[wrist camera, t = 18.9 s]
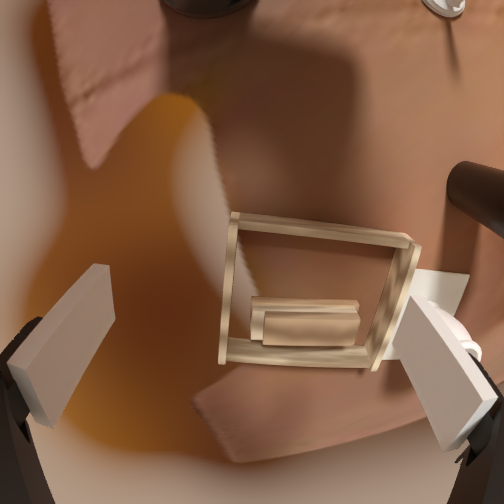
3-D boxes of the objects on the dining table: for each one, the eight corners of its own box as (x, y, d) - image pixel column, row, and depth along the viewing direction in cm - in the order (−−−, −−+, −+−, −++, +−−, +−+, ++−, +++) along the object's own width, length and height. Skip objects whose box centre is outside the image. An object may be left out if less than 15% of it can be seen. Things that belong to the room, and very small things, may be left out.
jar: (424, 285, 52) (465, 334, 38) (452, 309, 54) (490, 356, 40) (386, 328, 55) (415, 384, 41) (417, 348, 57) (446, 399, 43)
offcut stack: (251, 295, 53) (251, 316, 48) (356, 299, 54) (366, 318, 48) (249, 325, 56) (249, 347, 50) (349, 327, 56) (357, 348, 50)
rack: (231, 211, 47) (228, 224, 42) (405, 233, 48) (421, 247, 43) (221, 341, 57) (218, 363, 51) (367, 350, 58) (376, 371, 52)
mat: (401, 267, 51) (402, 268, 50) (468, 274, 51) (469, 275, 51) (369, 358, 59) (370, 359, 58) (433, 356, 59) (434, 358, 59)
